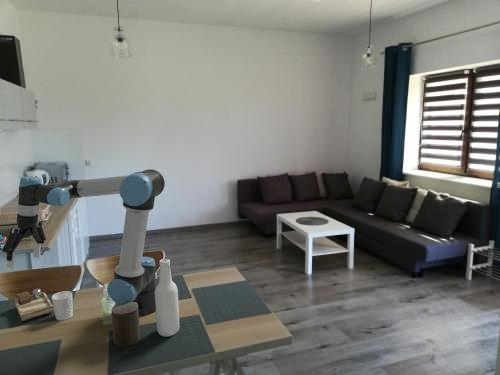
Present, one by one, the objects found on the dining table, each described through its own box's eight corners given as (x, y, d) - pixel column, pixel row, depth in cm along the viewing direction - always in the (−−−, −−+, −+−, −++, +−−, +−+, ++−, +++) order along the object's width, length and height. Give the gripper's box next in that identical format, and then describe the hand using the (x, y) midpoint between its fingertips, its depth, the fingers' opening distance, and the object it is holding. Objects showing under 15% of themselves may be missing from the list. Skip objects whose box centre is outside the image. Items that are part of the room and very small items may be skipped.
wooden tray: (54, 314, 160) (53, 305, 159) (22, 324, 152) (21, 315, 151) (45, 299, 173) (44, 291, 172) (15, 307, 166) (14, 299, 165)
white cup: (66, 322, 153) (63, 300, 151) (49, 320, 155) (47, 298, 153) (78, 312, 161) (76, 291, 159) (62, 311, 162) (60, 290, 160)
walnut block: (31, 302, 165) (30, 293, 164) (21, 305, 162) (20, 297, 161) (28, 299, 167) (27, 291, 166) (18, 302, 164) (17, 294, 163)
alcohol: (174, 338, 141) (170, 265, 135) (153, 336, 142) (148, 264, 137) (182, 325, 149) (179, 256, 144) (162, 324, 151) (158, 255, 146)
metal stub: (41, 298, 168) (40, 290, 167) (34, 300, 166) (33, 292, 165) (40, 295, 170) (39, 288, 170) (33, 297, 168) (32, 289, 168)
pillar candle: (125, 350, 134) (122, 313, 131) (108, 342, 139) (105, 306, 136) (145, 337, 142) (143, 302, 139) (128, 330, 147) (126, 295, 144)
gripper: (43, 207, 163) (39, 251, 166) (-7, 217, 139) (-11, 269, 142) (57, 210, 161) (53, 255, 165) (9, 221, 137) (6, 274, 140)
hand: (24, 262), depth 153 cm, fingers open, 13 cm apart
